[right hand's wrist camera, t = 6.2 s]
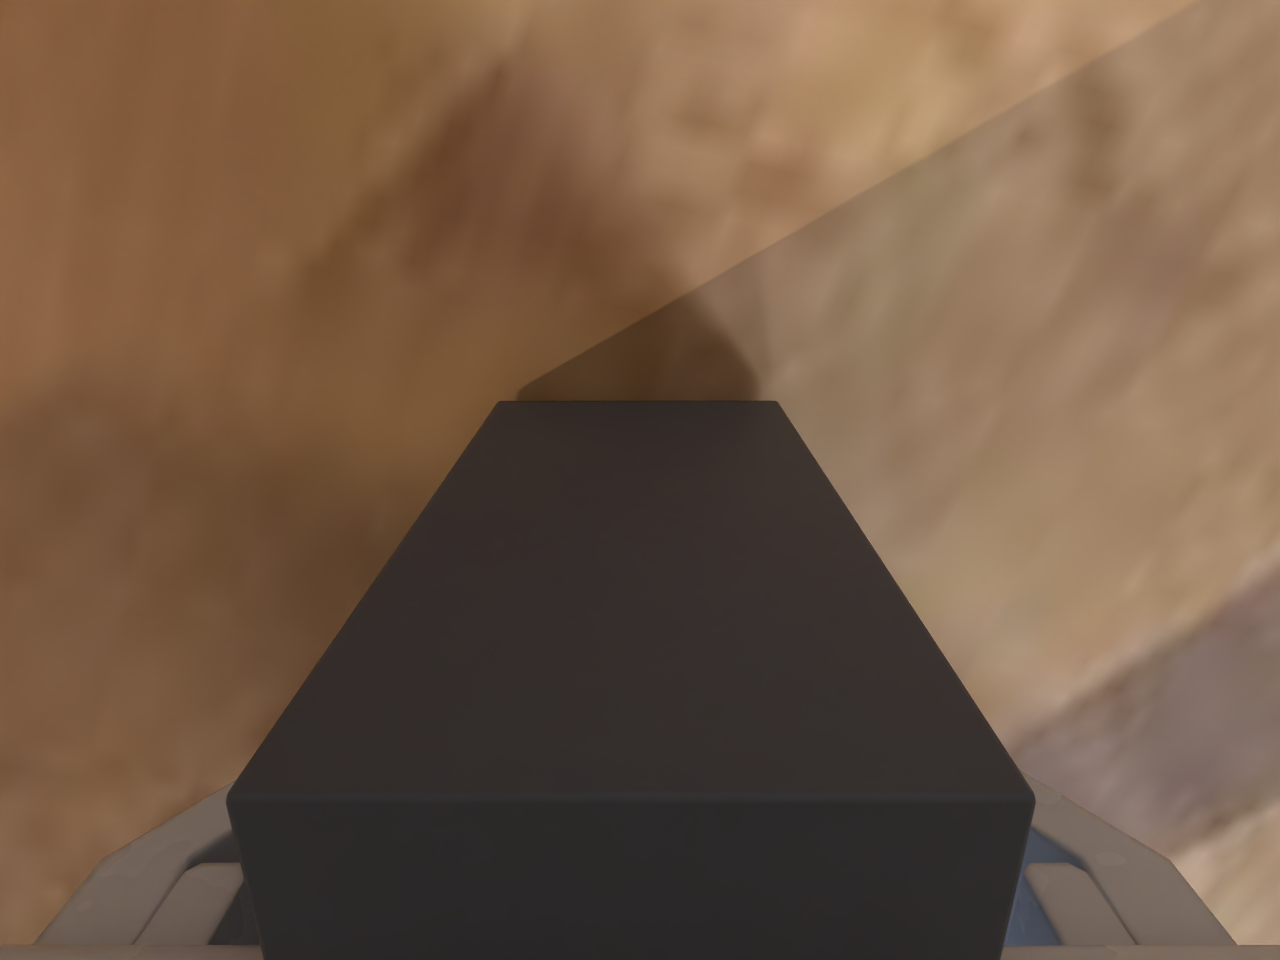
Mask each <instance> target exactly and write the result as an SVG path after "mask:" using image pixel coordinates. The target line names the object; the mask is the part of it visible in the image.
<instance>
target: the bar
mask: <svg viewBox="0 0 1280 960" xmlns="http://www.w3.org/2000/svg"><path fill="white" fill-rule="evenodd" d="M1035 805H1036V799H1035V795H1034V792H1033V790H1032V789H1031V787H1030V786H1029V784H1028V783H1027V781H1026V780H1025V778H1024V777H1023V775H1022V774H1021V772H1020V771H1019V769H1018V768H1017V766H1016V765H1015V763H1014V761H1013V760H1012V758H1011V757H1010V755H1009V754H1008V752H1007V751H1006V749H1005V748H1004V746H1003V745H1002V743H1001V742H1000V740H999V739H998V737H997V736H996V734H995V733H994V731H993V729H992V728H991V726H990V725H989V723H988V722H987V720H986V719H985V717H984V716H983V714H982V713H981V711H980V710H979V708H978V707H977V705H976V704H975V702H974V701H973V699H972V697H971V696H970V694H969V693H968V691H967V690H966V688H965V687H964V685H963V684H962V682H961V681H960V679H959V678H958V676H957V675H956V673H955V672H954V670H953V669H952V667H951V665H950V664H949V662H948V661H947V659H946V658H945V656H944V655H943V653H942V652H941V650H940V649H939V647H938V646H937V644H936V643H935V641H934V640H933V638H932V637H931V635H930V633H929V632H928V630H927V629H926V627H925V626H924V624H923V623H922V621H921V620H920V618H919V617H918V615H917V614H916V612H915V611H914V609H913V608H912V606H911V605H910V603H909V601H908V600H907V598H906V597H905V595H904V594H903V592H902V591H901V589H900V588H899V586H898V585H897V583H896V582H895V580H894V579H893V577H892V576H891V574H890V573H889V571H888V569H887V568H886V566H885V565H884V563H883V562H882V560H881V559H880V557H879V556H878V554H877V553H876V551H875V550H874V548H873V547H872V545H871V544H870V542H869V541H868V539H867V537H866V536H865V534H864V533H863V531H862V530H861V528H860V527H859V525H858V524H857V522H856V521H855V519H854V518H853V516H852V515H851V513H850V512H849V510H848V509H847V507H846V505H845V504H844V502H843V501H842V499H841V498H840V496H839V495H838V493H837V492H836V490H835V489H834V487H833V486H832V484H831V483H830V481H829V480H828V478H827V476H826V475H825V473H824V472H823V470H822V469H821V467H820V466H819V464H818V463H817V461H816V460H815V458H814V457H813V455H812V454H811V452H810V451H809V449H808V448H807V446H806V444H805V443H804V441H803V440H802V438H801V437H800V435H799V434H798V432H797V431H796V429H795V428H794V426H793V425H792V423H791V422H790V420H789V419H788V417H787V416H786V414H785V412H784V411H783V409H782V408H781V406H780V405H779V403H778V402H777V401H500V402H498V403H497V404H496V406H495V407H494V409H493V410H492V411H491V413H490V414H489V416H488V417H487V419H486V420H485V422H484V423H483V424H482V426H481V427H480V429H479V430H478V432H477V433H476V435H475V436H474V437H473V439H472V440H471V442H470V443H469V445H468V446H467V448H466V449H465V450H464V452H463V453H462V455H461V456H460V458H459V459H458V461H457V462H456V463H455V465H454V466H453V468H452V469H451V471H450V472H449V474H448V475H447V476H446V478H445V479H444V481H443V482H442V484H441V485H440V487H439V488H438V490H437V491H436V492H435V494H434V495H433V497H432V498H431V500H430V501H429V503H428V504H427V505H426V507H425V508H424V510H423V511H422V513H421V514H420V516H419V517H418V518H417V520H416V521H415V523H414V524H413V526H412V527H411V529H410V530H409V531H408V533H407V534H406V536H405V537H404V539H403V540H402V542H401V543H400V544H399V546H398V547H397V549H396V550H395V552H394V553H393V555H392V556H391V557H390V559H389V560H388V562H387V563H386V565H385V566H384V568H383V569H382V570H381V572H380V573H379V575H378V576H377V578H376V579H375V581H374V582H373V583H372V585H371V586H370V588H369V589H368V591H367V592H366V594H365V595H364V596H363V598H362V599H361V601H360V602H359V604H358V605H357V607H356V608H355V609H354V611H353V612H352V614H351V615H350V617H349V618H348V620H347V621H346V622H345V624H344V625H343V627H342V628H341V630H340V631H339V633H338V634H337V635H336V637H335V638H334V640H333V641H332V643H331V644H330V646H329V647H328V648H327V650H326V651H325V653H324V654H323V656H322V657H321V659H320V660H319V661H318V663H317V664H316V666H315V667H314V669H313V670H312V672H311V673H310V674H309V676H308V677H307V679H306V680H305V682H304V683H303V685H302V686H301V687H300V689H299V690H298V692H297V693H296V695H295V696H294V698H293V699H292V701H291V702H290V703H289V705H288V706H287V708H286V709H285V711H284V712H283V714H282V715H281V716H280V718H279V719H278V721H277V722H276V724H275V725H274V727H273V728H272V729H271V731H270V732H269V734H268V735H267V737H266V738H265V740H264V741H263V742H262V744H261V745H260V747H259V748H258V750H257V751H256V753H255V754H254V755H253V757H252V758H251V760H250V761H249V763H248V764H247V766H246V767H245V768H244V770H243V771H242V773H241V774H240V776H239V777H238V779H237V780H236V781H235V783H234V784H233V786H232V787H231V789H230V790H229V792H228V794H227V797H226V806H227V811H228V815H229V819H230V823H231V827H232V831H233V835H234V839H235V844H236V848H237V852H238V856H239V860H240V864H241V868H242V872H243V877H244V881H245V885H246V889H247V893H248V897H249V901H250V905H251V909H252V914H253V918H254V922H255V926H256V930H257V934H258V938H259V942H260V947H261V951H262V955H263V959H264V960H1000V959H1001V954H1002V950H1003V945H1004V941H1005V937H1006V932H1007V928H1008V923H1009V919H1010V915H1011V910H1012V906H1013V901H1014V897H1015V893H1016V888H1017V884H1018V879H1019V875H1020V871H1021V866H1022V862H1023V857H1024V853H1025V849H1026V844H1027V840H1028V835H1029V831H1030V827H1031V822H1032V818H1033V813H1034V809H1035Z"/></svg>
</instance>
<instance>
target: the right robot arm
mask: <svg viewBox="0 0 1280 960" xmlns="http://www.w3.org/2000/svg"><path fill="white" fill-rule="evenodd" d="M1019 771H1020V770H1019ZM1020 772H1021V774H1022V775H1023V777H1024V778H1025V780H1026V781H1027V783H1028V784H1029V786H1030V787H1031V789H1032V790H1033V792H1034V795H1035V799H1036V805H1035V809H1034V813H1033V818H1032V822H1031V827H1030V831H1029V835H1028V840H1027V844H1026V849H1025V853H1024V857H1023V862H1022V866H1021V871H1020V875H1019V879H1018V884H1017V888H1016V893H1015V897H1014V901H1013V906H1012V910H1011V915H1010V919H1009V923H1008V928H1007V932H1006V937H1005V941H1004V945H1003V950H1002V954H1001V959H1000V960H1280V945H1237V944H1236V942H1235V941H1234V940H1233V939H1232V937H1231V936H1230V935H1229V934H1228V932H1227V931H1226V930H1225V929H1224V927H1223V926H1222V925H1221V924H1220V922H1219V921H1218V920H1217V919H1216V917H1215V916H1214V915H1213V914H1212V912H1211V911H1210V910H1209V909H1208V907H1207V906H1206V905H1205V903H1204V902H1203V901H1202V900H1201V898H1200V897H1199V896H1198V895H1197V893H1196V892H1195V891H1194V890H1193V888H1192V887H1191V886H1190V885H1189V883H1188V882H1187V881H1186V880H1185V878H1184V877H1183V876H1182V875H1181V873H1180V872H1179V871H1178V870H1177V868H1176V867H1175V866H1174V865H1173V863H1172V862H1171V861H1170V860H1169V859H1167V858H1165V857H1164V856H1162V855H1160V854H1159V853H1157V852H1155V851H1154V850H1152V849H1150V848H1149V847H1147V846H1145V845H1144V844H1142V843H1140V842H1139V841H1137V840H1135V839H1134V838H1132V837H1130V836H1129V835H1127V834H1125V833H1124V832H1122V831H1120V830H1119V829H1117V828H1115V827H1114V826H1112V825H1110V824H1109V823H1107V822H1105V821H1104V820H1102V819H1100V818H1099V817H1097V816H1095V815H1094V814H1092V813H1090V812H1089V811H1087V810H1085V809H1084V808H1082V807H1080V806H1079V805H1077V804H1075V803H1074V802H1072V801H1070V800H1069V799H1067V798H1065V797H1064V796H1062V795H1060V794H1059V793H1057V792H1055V791H1054V790H1052V789H1050V788H1049V787H1047V786H1045V785H1044V784H1042V783H1040V782H1039V781H1037V780H1035V779H1034V778H1032V777H1030V776H1029V775H1027V774H1025V773H1024V772H1022V771H1020ZM235 781H236V780H235ZM235 781H233V782H232V783H230V784H228V785H227V786H225V787H223V788H221V789H220V790H218V791H216V792H215V793H213V794H211V795H210V796H208V797H206V798H205V799H203V800H201V801H200V802H198V803H196V804H194V805H193V806H191V807H189V808H188V809H186V810H184V811H183V812H181V813H179V814H178V815H176V816H174V817H173V818H171V819H169V820H168V821H166V822H164V823H162V824H161V825H159V826H157V827H156V828H154V829H152V830H151V831H149V832H147V833H146V834H144V835H142V836H141V837H139V838H137V839H135V840H134V841H132V842H130V843H129V844H127V845H125V846H124V847H122V848H120V849H119V850H117V851H115V852H114V853H112V854H110V855H108V856H107V857H105V858H103V859H102V860H101V861H100V863H99V864H98V865H97V866H96V867H95V869H94V870H93V871H92V872H91V874H90V875H89V876H88V877H87V878H86V880H85V881H84V882H83V883H82V885H81V886H80V887H79V888H78V889H77V891H76V892H75V893H74V894H73V896H72V897H71V898H70V899H69V901H68V902H67V903H66V904H65V905H64V907H63V908H62V909H61V910H60V912H59V913H58V914H57V915H56V916H55V918H54V919H53V920H52V921H51V923H50V924H49V925H48V926H47V927H46V929H45V930H44V931H43V932H42V934H41V935H40V936H39V937H38V939H37V940H36V941H35V942H34V943H33V945H0V960H264V959H263V955H262V951H261V947H260V942H259V938H258V934H257V930H256V926H255V922H254V918H253V914H252V909H251V905H250V901H249V897H248V893H247V889H246V885H245V881H244V877H243V872H242V868H241V864H240V860H239V856H238V852H237V848H236V844H235V839H234V835H233V831H232V827H231V823H230V819H229V815H228V811H227V806H226V797H227V794H228V792H229V790H230V789H231V787H232V786H233V784H234V783H235Z"/></svg>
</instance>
